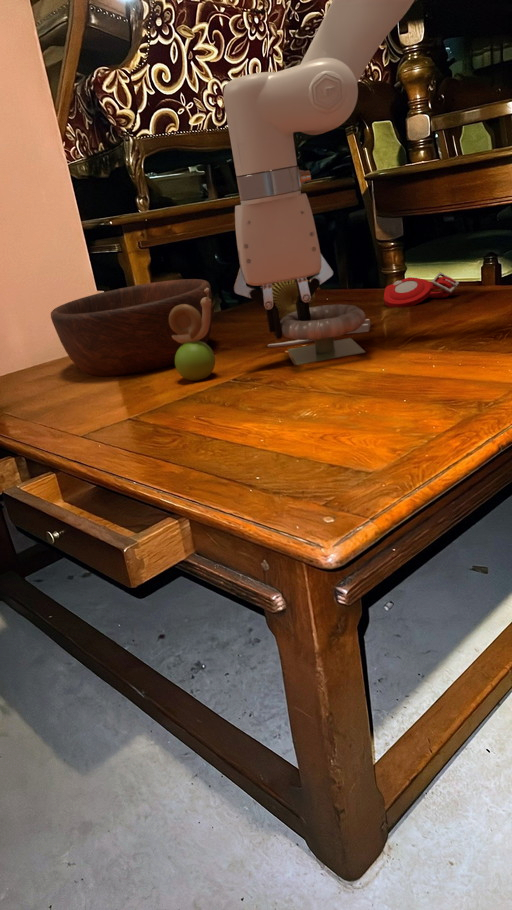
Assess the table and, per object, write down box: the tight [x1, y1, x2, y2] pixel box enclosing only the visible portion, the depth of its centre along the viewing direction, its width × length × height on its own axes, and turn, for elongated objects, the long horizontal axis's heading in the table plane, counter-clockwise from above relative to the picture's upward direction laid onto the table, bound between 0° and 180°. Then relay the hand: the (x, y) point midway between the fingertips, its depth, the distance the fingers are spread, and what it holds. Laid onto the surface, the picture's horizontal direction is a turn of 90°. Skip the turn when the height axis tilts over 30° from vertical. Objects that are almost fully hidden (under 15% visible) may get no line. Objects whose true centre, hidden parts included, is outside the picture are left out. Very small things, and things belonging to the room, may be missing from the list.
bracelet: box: [280, 303, 367, 340], centre depth 92 cm, size 11×11×2 cm
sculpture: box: [272, 278, 316, 319], centre depth 119 cm, size 8×4×8 cm, turn 90°
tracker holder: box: [383, 271, 460, 308], centre depth 119 cm, size 12×4×10 cm
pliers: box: [267, 318, 371, 348], centre depth 106 cm, size 10×2×15 cm
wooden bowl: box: [50, 278, 213, 377], centre depth 110 cm, size 25×25×10 cm
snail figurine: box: [169, 288, 216, 382], centre depth 92 cm, size 5×6×12 cm
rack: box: [287, 319, 366, 366], centre depth 93 cm, size 9×9×5 cm
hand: (291, 332), depth 92 cm, fingers closed on bracelet, 2 cm apart
